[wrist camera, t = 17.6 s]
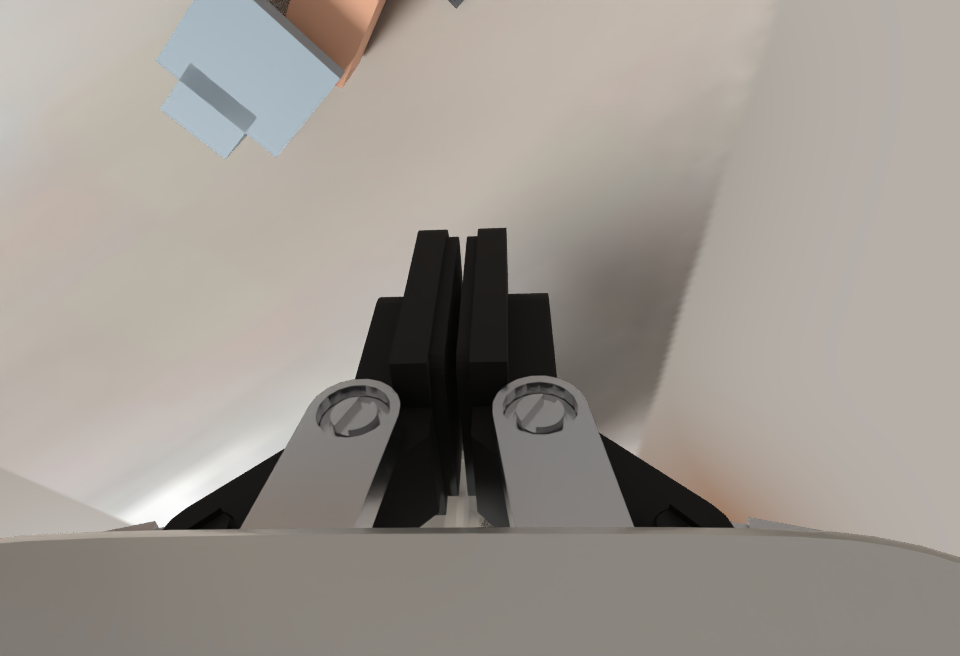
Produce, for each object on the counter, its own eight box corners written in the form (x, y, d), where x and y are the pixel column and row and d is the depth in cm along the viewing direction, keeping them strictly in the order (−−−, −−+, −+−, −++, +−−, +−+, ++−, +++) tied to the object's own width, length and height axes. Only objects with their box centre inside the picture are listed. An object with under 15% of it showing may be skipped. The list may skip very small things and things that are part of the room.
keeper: (366, 41, 30) (340, 78, 25) (292, 133, 32) (255, 182, 27) (265, -54, 27) (215, -34, 23) (195, 53, 30) (136, 91, 25)
